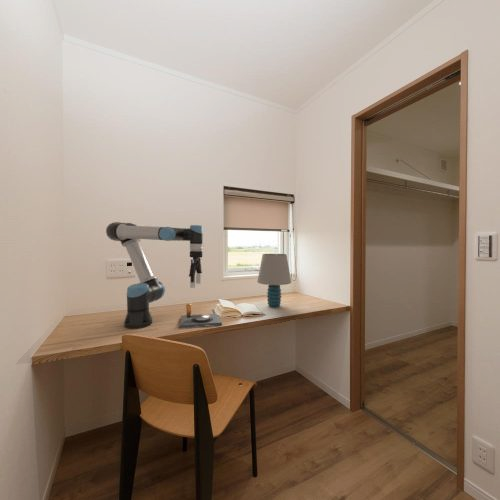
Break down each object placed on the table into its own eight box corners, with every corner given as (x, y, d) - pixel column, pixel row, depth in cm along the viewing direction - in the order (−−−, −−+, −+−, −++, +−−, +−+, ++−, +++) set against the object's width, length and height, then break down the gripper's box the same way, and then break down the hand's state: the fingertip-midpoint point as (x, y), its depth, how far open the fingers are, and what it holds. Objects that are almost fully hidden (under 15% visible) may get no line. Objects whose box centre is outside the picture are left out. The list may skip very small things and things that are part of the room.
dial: (210, 315, 158) (210, 301, 158) (211, 320, 148) (211, 305, 148) (186, 317, 155) (186, 302, 155) (186, 322, 145) (186, 306, 145)
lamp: (282, 312, 172) (283, 255, 170) (251, 307, 185) (251, 254, 183) (296, 304, 193) (296, 254, 192) (267, 300, 207) (267, 253, 205)
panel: (179, 328, 141) (179, 325, 141) (181, 317, 160) (181, 315, 160) (221, 325, 146) (221, 322, 146) (218, 315, 165) (218, 312, 165)
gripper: (197, 252, 139) (196, 289, 140) (206, 250, 164) (205, 282, 165) (183, 251, 139) (183, 289, 140) (195, 249, 164) (194, 281, 165)
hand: (195, 285), depth 153 cm, fingers open, 13 cm apart
